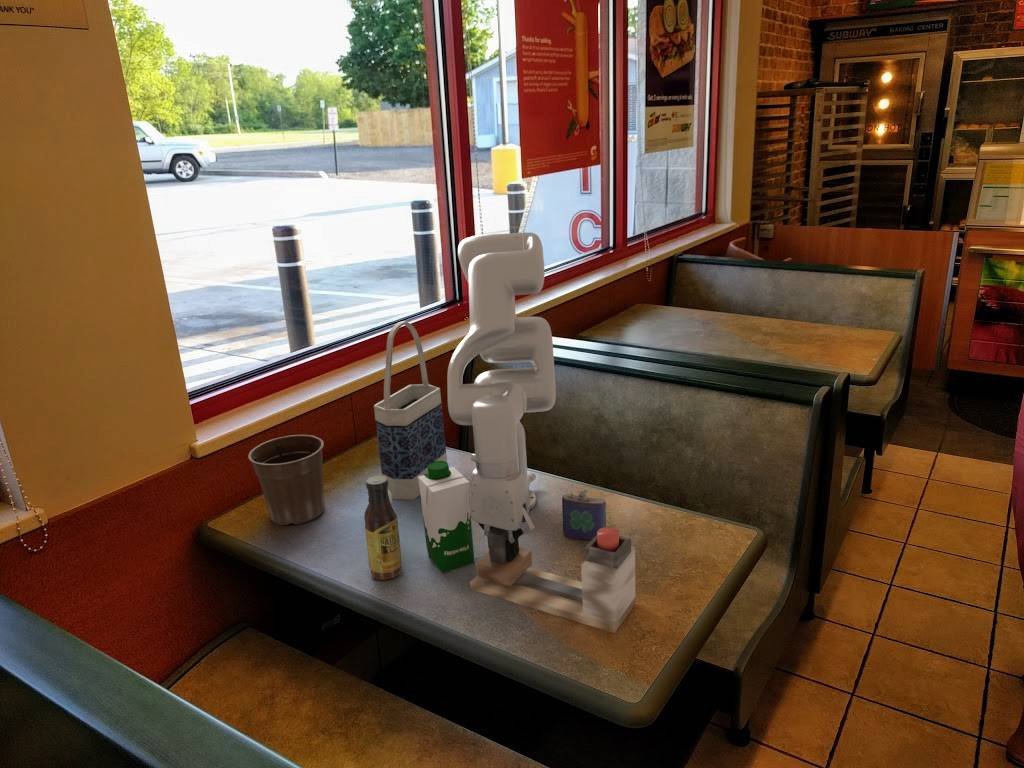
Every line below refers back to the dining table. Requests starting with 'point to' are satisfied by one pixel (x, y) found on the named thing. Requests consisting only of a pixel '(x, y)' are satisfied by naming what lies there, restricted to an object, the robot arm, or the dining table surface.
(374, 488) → the sauce bottle
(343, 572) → the dining table surface
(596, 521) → the flask
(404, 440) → the bag
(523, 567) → the carriage
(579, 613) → the rail
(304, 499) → the plant pot
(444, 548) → the milk carton
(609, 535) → the red dome button
